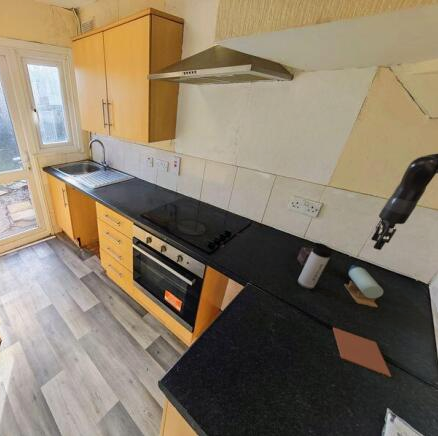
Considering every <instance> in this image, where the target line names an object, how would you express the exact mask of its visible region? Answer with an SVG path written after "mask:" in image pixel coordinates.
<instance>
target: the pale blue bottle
mask: <svg viewBox="0 0 438 436" xmlns="http://www.w3.org/2000/svg"><path fill="white" fill-rule="evenodd" d="M348 277H349V278H350V279H351V281H352V282H353V283H355V284H356V285H357V287H358V288H359V289H360V290H361V292H362V293H363V294H364V296H366V297H368V298H376V299H378V298H380V297H381V296H383V294H384V289H383V288H382V287H381V285H379V284H378V282H377V281H376V280H375V279H374V277H372V276H371V274H369V272H368V271H367V270H366V269H365V268H363V267H360V266H359V265H355V264H352V265H350V267H349V269H348Z"/></svg>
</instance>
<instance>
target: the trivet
mask: <svg viewBox="0 0 438 436" xmlns="http://www.w3.org/2000/svg"><path fill="white" fill-rule="evenodd" d="M332 332H333V334H334V338H335V342H336V345H337V348H338V352H339V355H340V358H341V359H342V360H345V361H348V362H351V363H353V364H355V365H358V366H361V367H363V368H365V369H369V370H371V371H373V372H377V373H379V374H381V373H382V374H381V375H384V374H385V375H384V376H386V375H387V376H386V377H388V378H391V377H392V375H391V372H390V370H389V368H388V366H387V363H386V361H385V359H384V357H383V354H382V353H381V351H380V348H379V346H378V344H377V342H376V341H373V340H371V339H367V338H365V337H362V336H360V335H356V334H353V333H350V332H347V331H345V330H342V329H339V328H336V327H334V326H333V327H332Z"/></svg>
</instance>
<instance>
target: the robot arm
mask: <svg viewBox="0 0 438 436" xmlns="http://www.w3.org/2000/svg"><path fill="white" fill-rule="evenodd" d="M436 174H438V153H431V154H425V155H421V156H418V157H416V158H415V159H413V160H412V161H411V162H410V163H409V164H408V166H407V167H406V170H405V171H404V173H403V176H402V177H401V180H400V182H399V184H398V185H397V186H396V187H395V189H394V191H393V192H392V194H391V195H390V196H389V198H388V199H387V200H386V202H385V204H384V206H383V207H382V209H381V210H380V212H379V214H378V217H379V218H380V219H379V221H378V223H377V225H376V226H375V229H374V231H375V232H374V233H373V235H372V236H371V241H374V242H375V244H374V245H373V249H375V250H377V251H381V250H382V249H383V247H384V246H385V244H389V243H390V241H391V239H392V238H393V236H394V235H395V233H396V232H397V228H396V225H404V224H405V223H406V222H407V221H408V219H409V217H410V216H412V213H413V212H414V210H415V208H416V207H417V204H418V202H419V201H420V199H421V198H422V196H423V195H424V194H425V192H426V189H427V187H428V185H430V182H431V181H432V180H433V179H434V177H435V176H436Z"/></svg>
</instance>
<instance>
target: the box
mask: <svg viewBox="0 0 438 436" xmlns="http://www.w3.org/2000/svg"><path fill="white" fill-rule="evenodd" d="M312 250H313V248H312V247H302V246H301V248H300V251H299V253H298V255H297V256H296V257H297V258H296V259H297V261H298V262H299V263H300V265H301V266H302V267H304V266H305V264H306V262H307V260H308V258H309V256H310V254H311V252H312Z"/></svg>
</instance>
